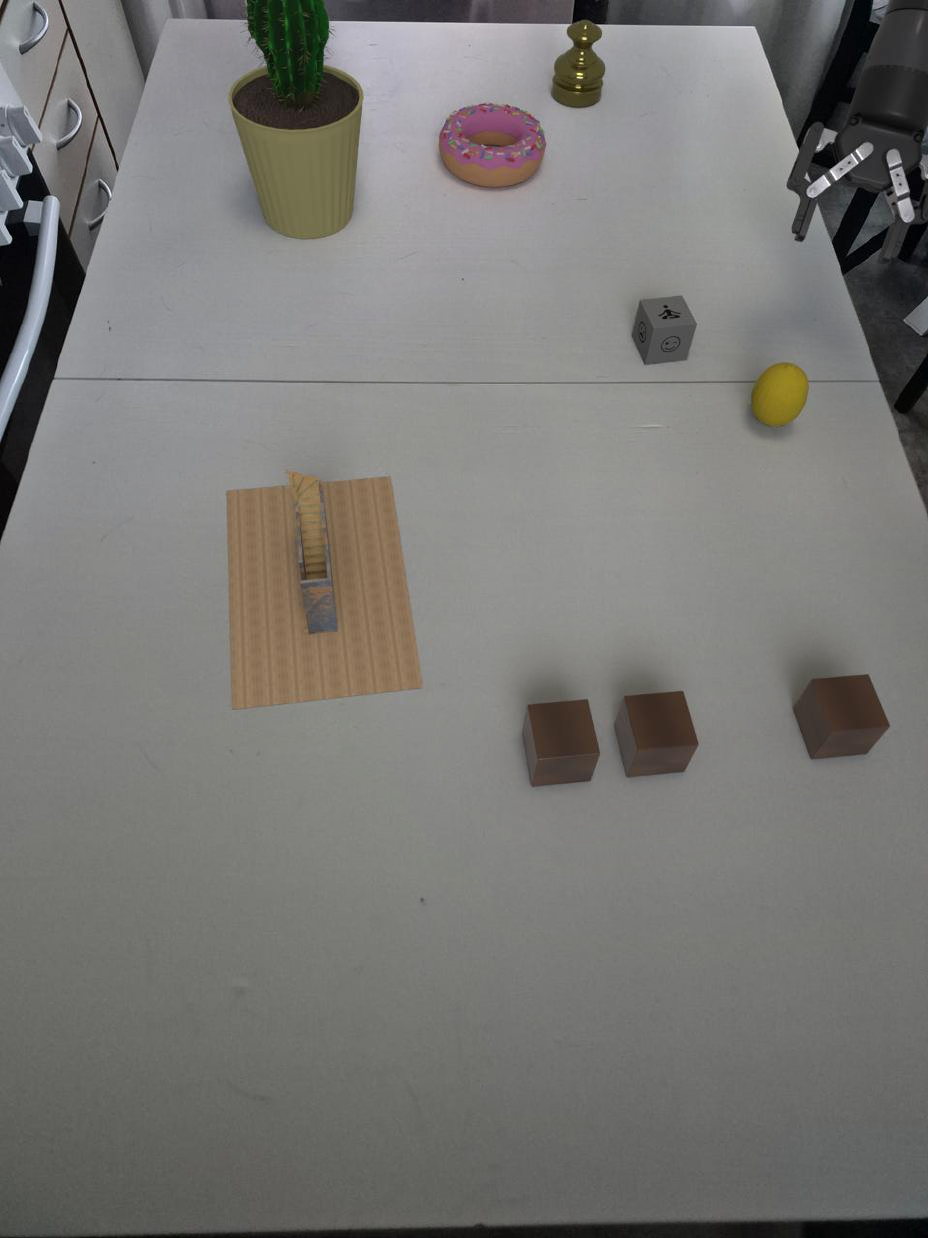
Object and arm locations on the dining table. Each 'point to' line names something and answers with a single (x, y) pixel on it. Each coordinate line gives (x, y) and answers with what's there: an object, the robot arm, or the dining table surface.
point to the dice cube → (663, 329)
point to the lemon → (779, 394)
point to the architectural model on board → (317, 593)
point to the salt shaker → (579, 68)
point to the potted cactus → (298, 120)
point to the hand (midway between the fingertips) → (841, 251)
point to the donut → (492, 127)
